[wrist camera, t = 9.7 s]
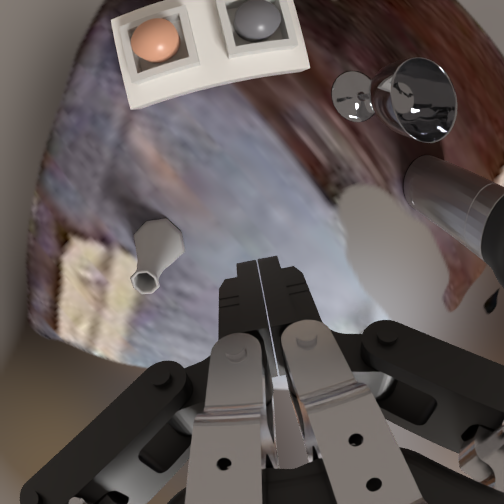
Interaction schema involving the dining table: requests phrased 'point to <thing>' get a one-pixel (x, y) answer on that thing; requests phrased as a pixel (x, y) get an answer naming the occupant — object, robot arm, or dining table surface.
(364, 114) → the wine glass
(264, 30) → the charcoal button
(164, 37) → the terracotta button
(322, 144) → the dining table surface
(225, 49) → the console
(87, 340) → the dining table surface
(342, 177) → the dining table surface
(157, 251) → the flask
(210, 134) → the dining table surface
